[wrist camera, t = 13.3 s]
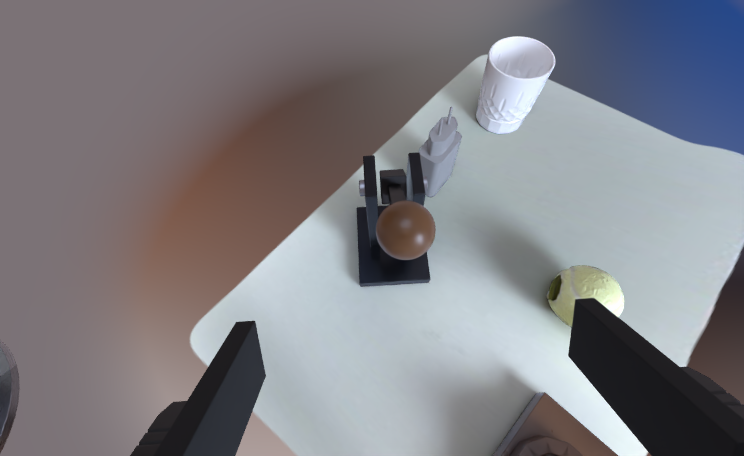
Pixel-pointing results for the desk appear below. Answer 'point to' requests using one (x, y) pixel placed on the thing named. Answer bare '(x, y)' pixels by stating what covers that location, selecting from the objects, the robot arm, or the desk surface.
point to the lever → (402, 219)
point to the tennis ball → (583, 291)
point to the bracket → (372, 257)
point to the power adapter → (440, 153)
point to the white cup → (512, 82)
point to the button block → (550, 433)
